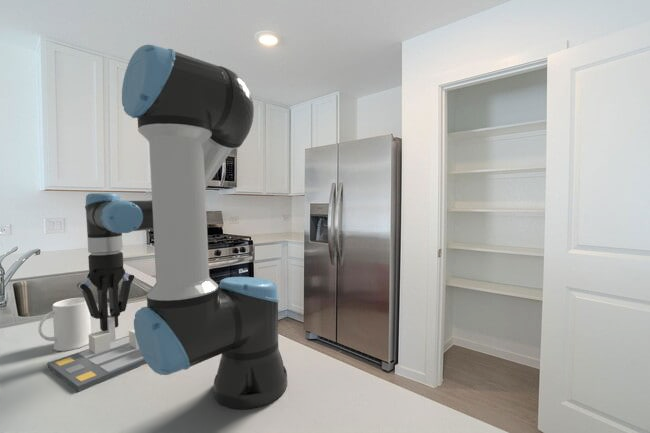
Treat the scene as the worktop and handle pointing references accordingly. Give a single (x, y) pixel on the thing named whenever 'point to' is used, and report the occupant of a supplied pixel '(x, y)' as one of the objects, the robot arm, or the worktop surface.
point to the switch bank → (97, 364)
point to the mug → (69, 324)
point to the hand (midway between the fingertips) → (110, 340)
